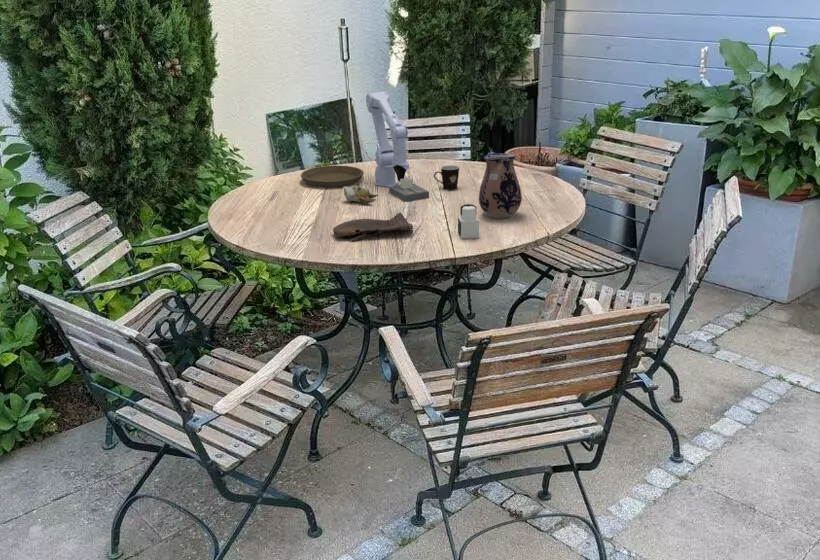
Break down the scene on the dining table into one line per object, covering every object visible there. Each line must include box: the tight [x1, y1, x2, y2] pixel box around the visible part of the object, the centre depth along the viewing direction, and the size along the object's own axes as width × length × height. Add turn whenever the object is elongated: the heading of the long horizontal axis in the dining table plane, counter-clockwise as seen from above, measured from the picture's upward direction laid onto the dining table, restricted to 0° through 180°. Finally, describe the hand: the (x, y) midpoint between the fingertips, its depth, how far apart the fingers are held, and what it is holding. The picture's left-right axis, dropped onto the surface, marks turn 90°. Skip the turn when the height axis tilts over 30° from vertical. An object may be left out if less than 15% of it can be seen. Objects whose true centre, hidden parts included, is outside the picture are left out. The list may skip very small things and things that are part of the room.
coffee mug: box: [433, 164, 460, 191], centre depth 337 cm, size 12×9×10 cm
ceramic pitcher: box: [478, 151, 523, 219], centre depth 295 cm, size 18×21×25 cm
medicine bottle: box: [457, 203, 480, 240], centre depth 275 cm, size 7×7×12 cm
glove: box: [332, 212, 414, 242], centre depth 283 cm, size 32×20×5 cm, turn 99°
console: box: [388, 183, 430, 203], centre depth 330 cm, size 17×12×3 cm
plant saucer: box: [300, 165, 364, 189], centre depth 357 cm, size 31×31×5 cm
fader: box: [399, 177, 414, 189], centre depth 330 cm, size 3×5×4 cm, turn 117°
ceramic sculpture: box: [342, 183, 379, 204], centre depth 321 cm, size 11×9×15 cm
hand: (400, 181), depth 335 cm, fingers closed
